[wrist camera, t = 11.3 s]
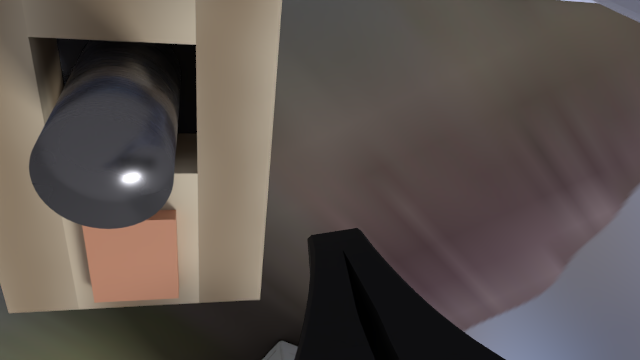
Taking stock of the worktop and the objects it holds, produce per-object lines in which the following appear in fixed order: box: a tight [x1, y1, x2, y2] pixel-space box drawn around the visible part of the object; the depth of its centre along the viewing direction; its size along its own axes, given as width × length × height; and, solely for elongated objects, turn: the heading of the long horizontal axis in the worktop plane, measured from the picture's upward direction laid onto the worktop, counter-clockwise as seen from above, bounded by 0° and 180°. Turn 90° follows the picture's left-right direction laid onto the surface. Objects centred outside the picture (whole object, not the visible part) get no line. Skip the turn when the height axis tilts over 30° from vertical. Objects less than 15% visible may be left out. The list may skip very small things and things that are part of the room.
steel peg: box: [29, 40, 182, 229], centre depth 17 cm, size 4×4×7 cm
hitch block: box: [0, 0, 282, 313], centre depth 20 cm, size 10×13×3 cm
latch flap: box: [82, 210, 179, 303], centre depth 20 cm, size 3×4×1 cm
